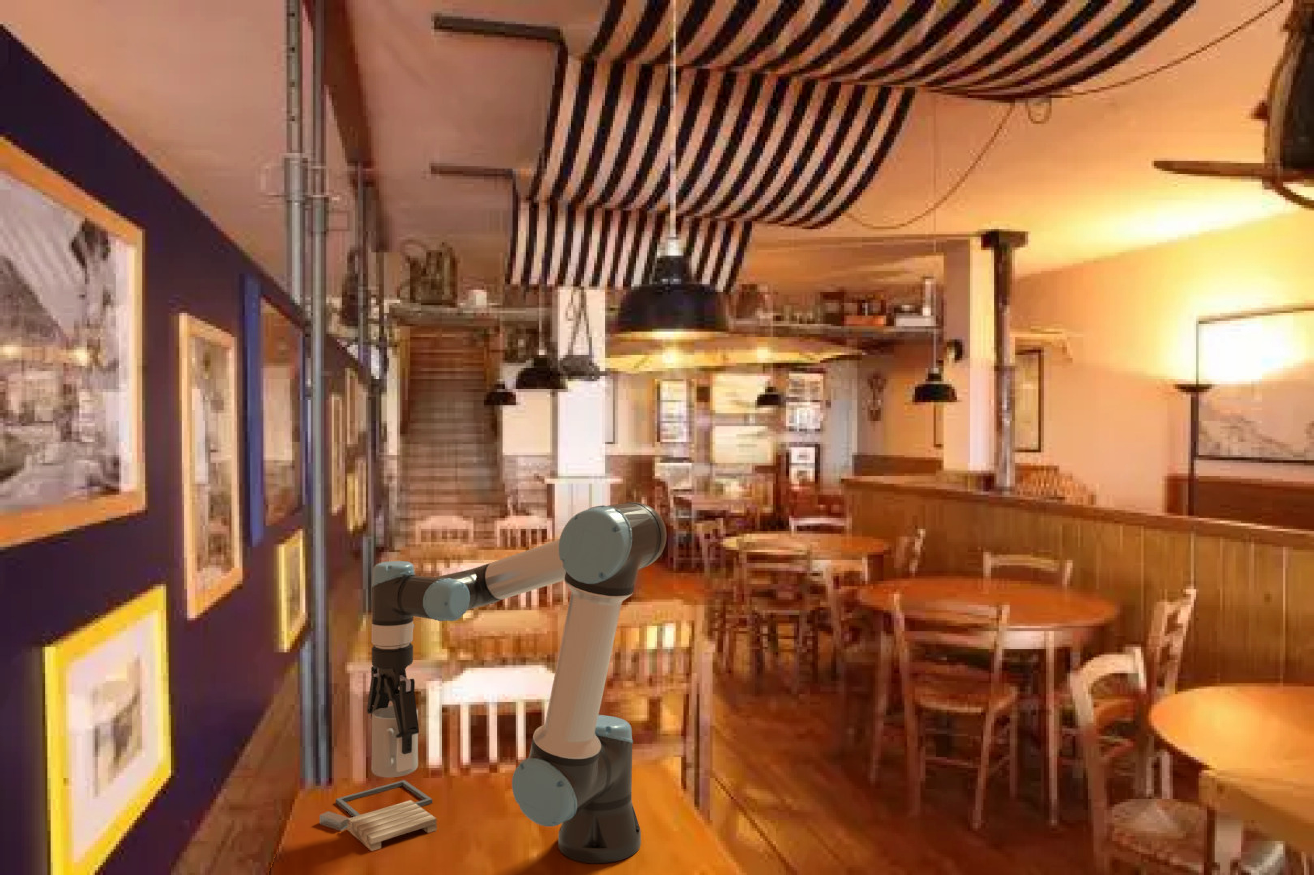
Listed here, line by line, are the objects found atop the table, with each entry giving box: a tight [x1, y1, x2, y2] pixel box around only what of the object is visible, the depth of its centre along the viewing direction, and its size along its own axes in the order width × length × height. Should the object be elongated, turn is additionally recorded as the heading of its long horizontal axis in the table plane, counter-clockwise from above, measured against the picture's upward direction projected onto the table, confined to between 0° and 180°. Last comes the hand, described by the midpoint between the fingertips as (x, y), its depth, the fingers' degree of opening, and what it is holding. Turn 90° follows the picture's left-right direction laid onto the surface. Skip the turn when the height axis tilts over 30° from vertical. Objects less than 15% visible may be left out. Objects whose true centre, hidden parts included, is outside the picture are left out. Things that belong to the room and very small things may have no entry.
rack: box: [346, 799, 438, 852], centre depth 168 cm, size 11×13×2 cm
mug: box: [370, 705, 419, 778], centre depth 167 cm, size 12×8×11 cm
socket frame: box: [335, 779, 433, 817], centre depth 180 cm, size 13×15×1 cm
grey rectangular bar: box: [319, 810, 349, 832], centre depth 170 cm, size 6×2×2 cm, turn 60°
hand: (391, 761), depth 168 cm, fingers closed on mug, 10 cm apart
